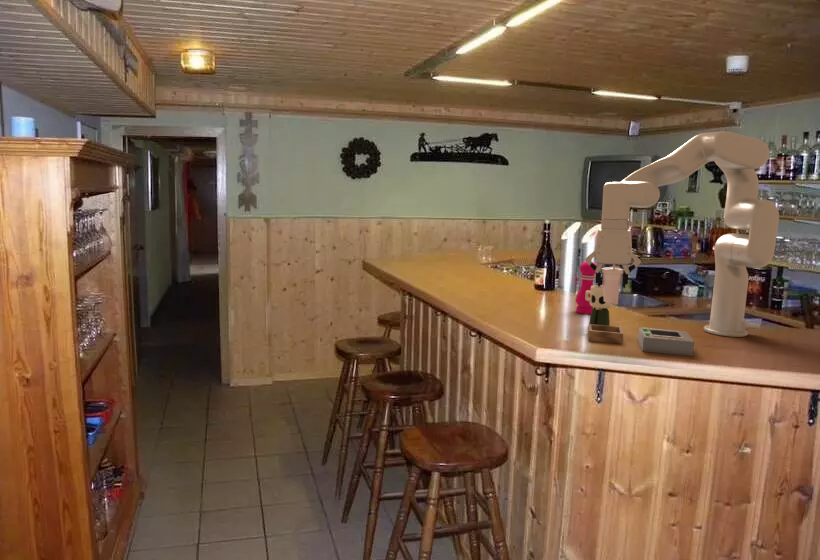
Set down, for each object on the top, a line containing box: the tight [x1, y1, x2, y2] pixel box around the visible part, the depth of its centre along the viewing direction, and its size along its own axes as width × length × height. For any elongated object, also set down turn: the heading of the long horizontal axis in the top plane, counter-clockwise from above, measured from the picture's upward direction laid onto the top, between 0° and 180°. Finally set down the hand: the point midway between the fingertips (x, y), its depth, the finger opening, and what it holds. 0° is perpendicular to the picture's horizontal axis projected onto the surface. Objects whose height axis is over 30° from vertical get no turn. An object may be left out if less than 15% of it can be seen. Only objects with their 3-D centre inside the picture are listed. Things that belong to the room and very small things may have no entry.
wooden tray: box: [587, 323, 624, 345], centre depth 187 cm, size 9×9×3 cm
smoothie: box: [600, 264, 624, 303], centre depth 185 cm, size 6×6×14 cm
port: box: [637, 326, 695, 357], centre depth 179 cm, size 13×13×5 cm
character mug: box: [585, 285, 619, 326], centre depth 202 cm, size 11×7×13 cm, turn 50°
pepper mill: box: [575, 258, 597, 315], centre depth 225 cm, size 7×7×20 cm
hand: (611, 285), depth 185 cm, fingers closed on smoothie, 6 cm apart
